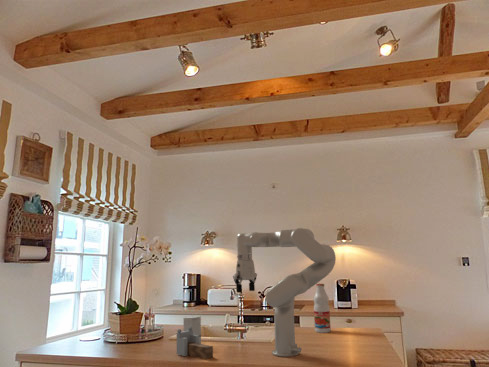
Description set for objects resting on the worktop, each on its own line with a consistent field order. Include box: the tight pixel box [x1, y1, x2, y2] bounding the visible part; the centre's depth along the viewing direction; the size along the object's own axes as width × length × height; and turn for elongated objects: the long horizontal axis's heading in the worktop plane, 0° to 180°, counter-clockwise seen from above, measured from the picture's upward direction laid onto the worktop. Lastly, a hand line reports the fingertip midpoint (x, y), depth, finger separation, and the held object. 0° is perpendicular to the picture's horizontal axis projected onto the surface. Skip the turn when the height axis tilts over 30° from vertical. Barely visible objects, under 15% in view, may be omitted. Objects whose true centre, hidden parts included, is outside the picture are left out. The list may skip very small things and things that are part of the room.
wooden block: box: [187, 342, 214, 360], centre depth 194 cm, size 16×4×5 cm, turn 48°
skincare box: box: [183, 315, 202, 344], centre depth 216 cm, size 8×6×15 cm
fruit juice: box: [313, 283, 331, 334], centre depth 247 cm, size 9×9×28 cm
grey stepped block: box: [176, 327, 199, 357], centre depth 199 cm, size 6×9×12 cm
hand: (245, 291), depth 207 cm, fingers open, 9 cm apart
